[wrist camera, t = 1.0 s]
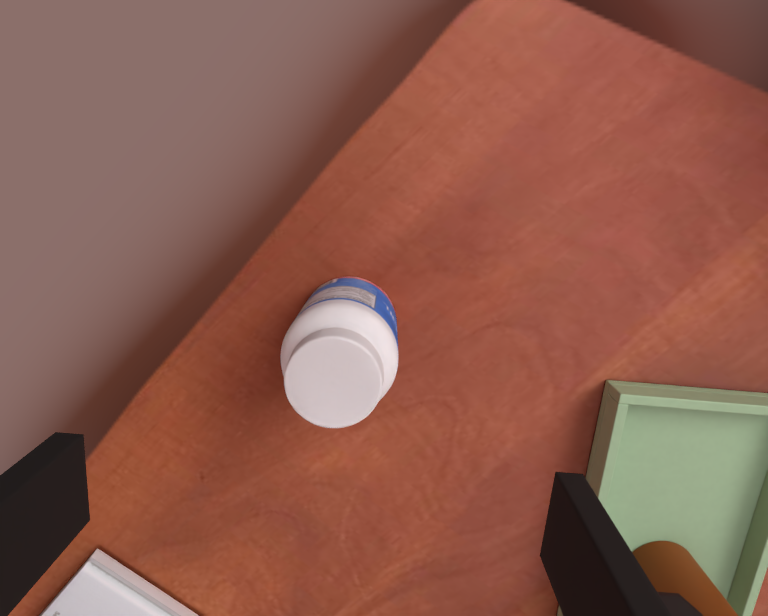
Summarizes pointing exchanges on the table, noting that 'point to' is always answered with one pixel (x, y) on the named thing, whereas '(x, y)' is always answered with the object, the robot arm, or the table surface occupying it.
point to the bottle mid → (681, 577)
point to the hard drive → (111, 593)
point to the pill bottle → (340, 353)
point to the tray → (688, 477)
